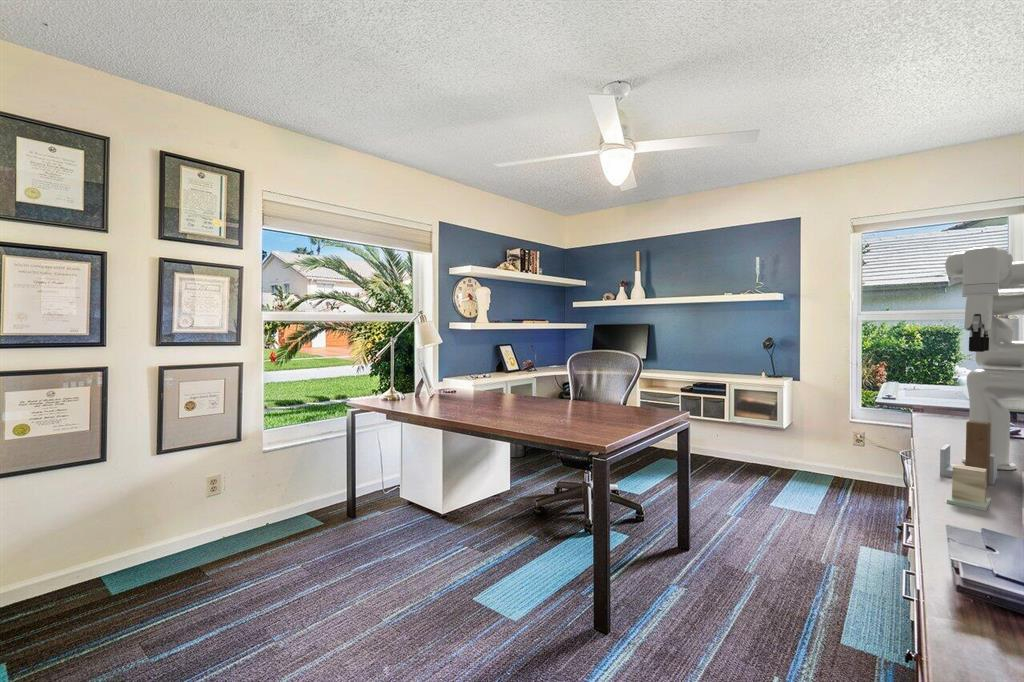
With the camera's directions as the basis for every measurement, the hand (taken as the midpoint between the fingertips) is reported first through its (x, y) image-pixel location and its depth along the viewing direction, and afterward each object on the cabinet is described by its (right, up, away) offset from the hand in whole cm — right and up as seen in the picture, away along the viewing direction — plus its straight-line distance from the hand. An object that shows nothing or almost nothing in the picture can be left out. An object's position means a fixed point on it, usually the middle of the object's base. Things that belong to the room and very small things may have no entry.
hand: (978, 351), depth 139 cm
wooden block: (-2, -39, -1) cm, 39 cm away
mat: (-16, -39, -14) cm, 44 cm away
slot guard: (+4, -38, +8) cm, 39 cm away
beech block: (-16, -38, -14) cm, 43 cm away
